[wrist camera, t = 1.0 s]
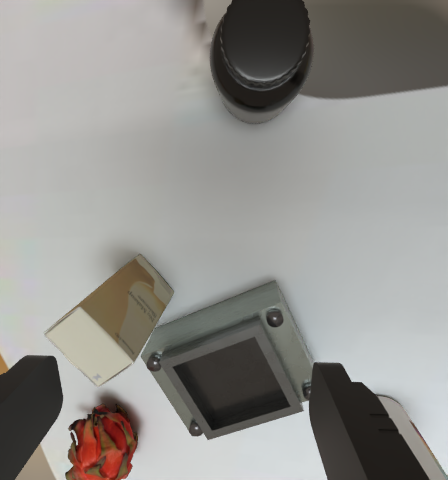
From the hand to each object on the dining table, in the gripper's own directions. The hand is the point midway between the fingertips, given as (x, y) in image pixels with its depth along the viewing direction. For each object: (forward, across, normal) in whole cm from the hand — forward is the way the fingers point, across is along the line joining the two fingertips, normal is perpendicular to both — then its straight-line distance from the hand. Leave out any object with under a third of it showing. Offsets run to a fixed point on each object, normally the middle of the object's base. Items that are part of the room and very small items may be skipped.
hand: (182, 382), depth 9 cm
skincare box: (+23, +9, +7) cm, 26 cm away
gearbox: (+23, -2, +15) cm, 27 cm away
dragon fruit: (+24, +15, +28) cm, 40 cm away
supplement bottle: (+22, -4, -14) cm, 26 cm away
